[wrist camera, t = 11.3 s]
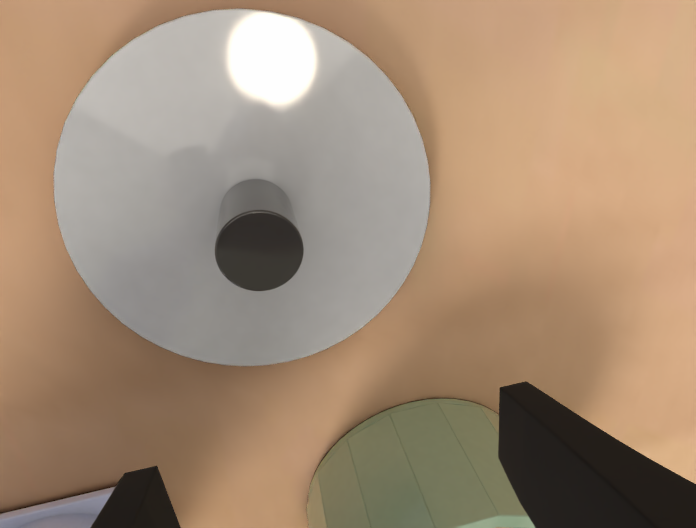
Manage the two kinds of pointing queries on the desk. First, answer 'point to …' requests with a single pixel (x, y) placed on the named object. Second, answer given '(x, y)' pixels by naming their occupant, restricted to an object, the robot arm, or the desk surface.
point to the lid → (241, 187)
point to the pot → (417, 472)
